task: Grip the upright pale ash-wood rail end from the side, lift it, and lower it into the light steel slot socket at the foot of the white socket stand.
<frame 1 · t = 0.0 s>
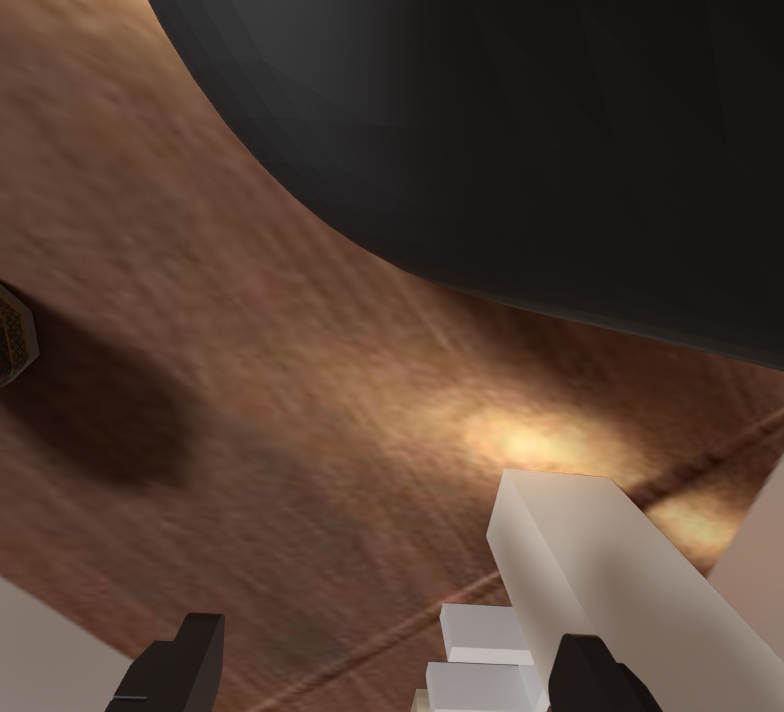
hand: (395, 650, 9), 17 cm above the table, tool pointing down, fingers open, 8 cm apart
ceramic cup: (5, 344, 24), on the table
rail end: (440, 704, 36), on the table
white socket stand: (480, 642, 34), on the table
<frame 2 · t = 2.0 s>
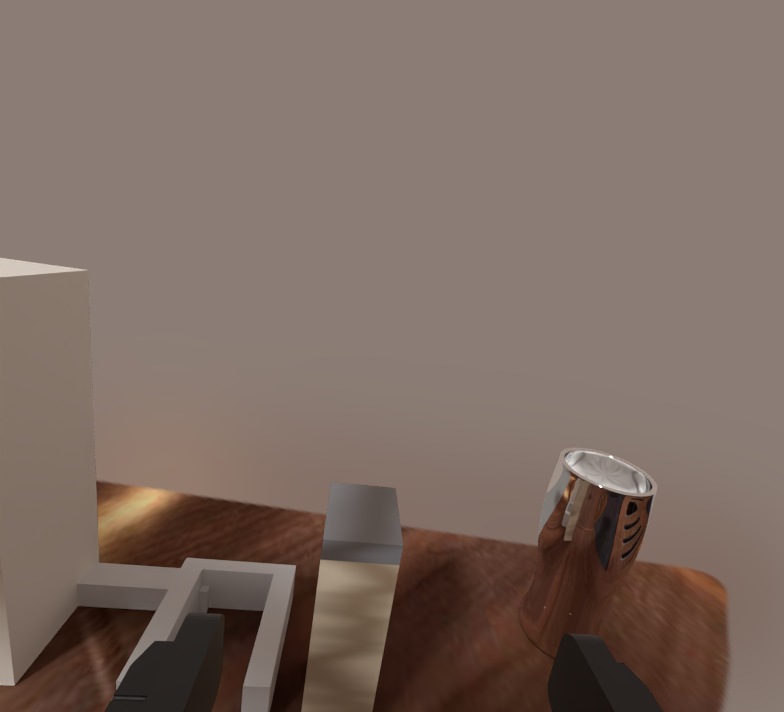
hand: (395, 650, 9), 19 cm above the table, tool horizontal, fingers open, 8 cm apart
beer glass: (555, 630, 34), on the table
rail end: (334, 698, 26), on the table
white socket stand: (217, 661, 27), on the table
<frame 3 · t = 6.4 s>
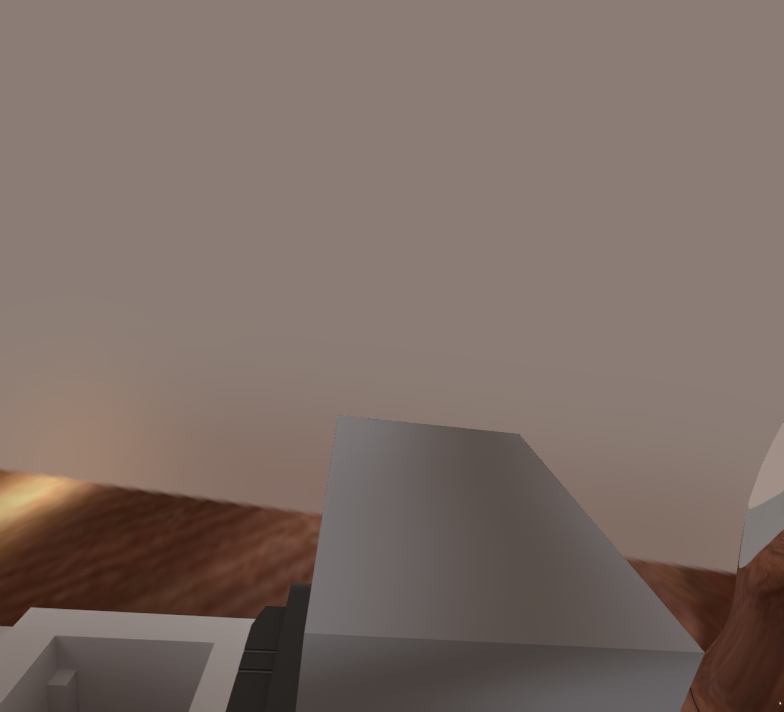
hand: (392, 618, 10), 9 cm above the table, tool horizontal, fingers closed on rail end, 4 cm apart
when the fingers open (10 cm above the table, at t = 10.8 s): rail end drops 1 cm, resting in white socket stand.
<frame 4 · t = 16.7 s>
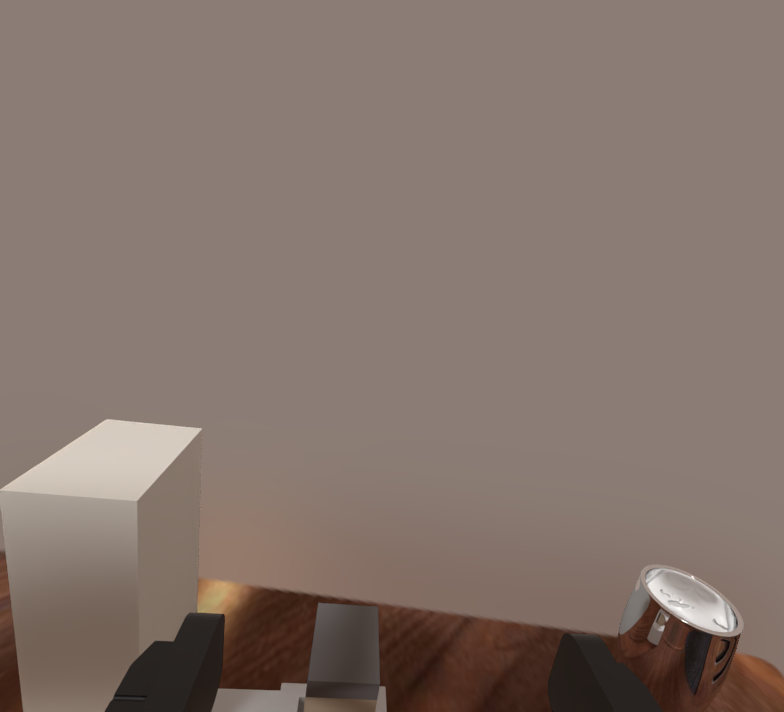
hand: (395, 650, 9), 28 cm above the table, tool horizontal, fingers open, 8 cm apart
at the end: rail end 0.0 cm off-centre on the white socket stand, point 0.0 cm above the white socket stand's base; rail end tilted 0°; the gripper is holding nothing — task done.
